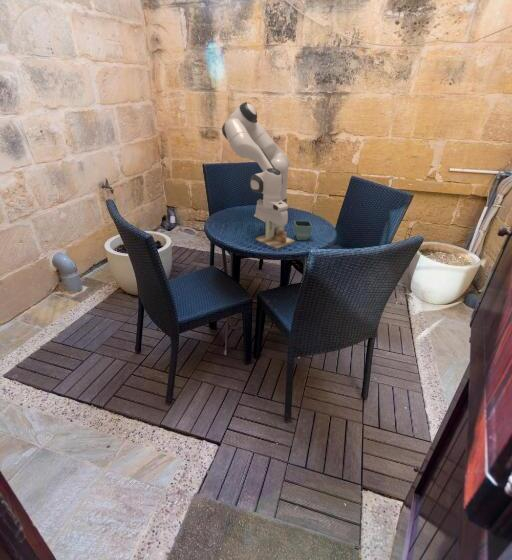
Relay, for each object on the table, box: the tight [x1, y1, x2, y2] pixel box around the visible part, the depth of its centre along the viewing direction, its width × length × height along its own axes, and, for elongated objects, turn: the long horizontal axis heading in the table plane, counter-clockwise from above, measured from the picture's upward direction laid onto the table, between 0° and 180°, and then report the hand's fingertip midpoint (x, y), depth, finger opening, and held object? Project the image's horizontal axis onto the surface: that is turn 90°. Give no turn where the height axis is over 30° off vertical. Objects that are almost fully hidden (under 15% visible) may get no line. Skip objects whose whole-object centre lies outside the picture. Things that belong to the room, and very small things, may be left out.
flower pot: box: [293, 220, 313, 241], centre depth 175 cm, size 9×9×9 cm
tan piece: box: [255, 225, 295, 250], centre depth 171 cm, size 16×14×7 cm
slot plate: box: [265, 219, 285, 238], centre depth 169 cm, size 2×12×10 cm, turn 133°
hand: (270, 228), depth 167 cm, fingers closed on slot plate, 2 cm apart
